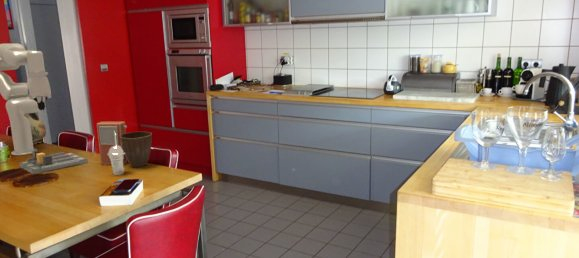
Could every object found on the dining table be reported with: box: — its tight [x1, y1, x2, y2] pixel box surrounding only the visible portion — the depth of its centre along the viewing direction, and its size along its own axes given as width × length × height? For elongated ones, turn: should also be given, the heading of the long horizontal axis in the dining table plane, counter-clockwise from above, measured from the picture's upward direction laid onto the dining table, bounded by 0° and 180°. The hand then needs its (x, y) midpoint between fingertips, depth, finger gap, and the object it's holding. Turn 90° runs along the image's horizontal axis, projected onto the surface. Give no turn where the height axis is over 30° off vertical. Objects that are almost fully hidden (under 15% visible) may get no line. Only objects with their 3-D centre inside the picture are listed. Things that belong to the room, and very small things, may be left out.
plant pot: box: [120, 131, 153, 168], centre depth 220 cm, size 15×15×16 cm
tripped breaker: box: [35, 152, 46, 164], centre depth 221 cm, size 4×5×5 cm
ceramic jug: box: [24, 112, 47, 145], centre depth 272 cm, size 17×15×30 cm
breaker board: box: [18, 149, 88, 175], centre depth 225 cm, size 22×26×7 cm
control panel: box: [96, 121, 129, 165], centre depth 225 cm, size 21×7×15 cm
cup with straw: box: [107, 131, 126, 176], centre depth 207 cm, size 8×9×20 cm
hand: (41, 109), depth 231 cm, fingers closed
